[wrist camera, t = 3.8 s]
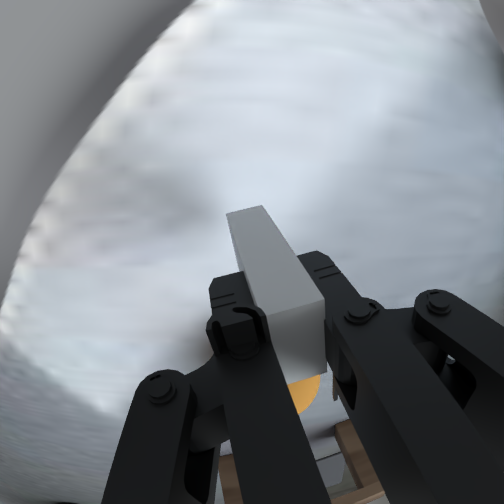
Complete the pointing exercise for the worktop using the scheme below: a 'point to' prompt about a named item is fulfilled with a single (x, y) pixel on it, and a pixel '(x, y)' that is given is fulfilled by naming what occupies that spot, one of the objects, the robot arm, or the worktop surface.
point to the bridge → (352, 454)
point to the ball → (304, 392)
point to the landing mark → (331, 469)
